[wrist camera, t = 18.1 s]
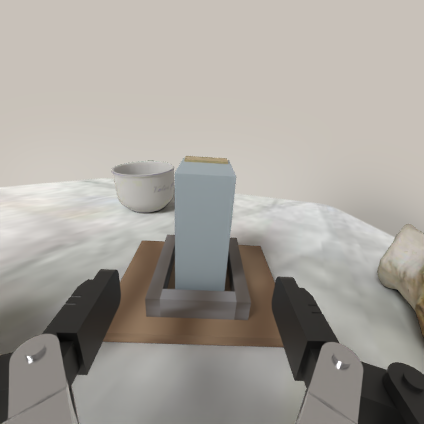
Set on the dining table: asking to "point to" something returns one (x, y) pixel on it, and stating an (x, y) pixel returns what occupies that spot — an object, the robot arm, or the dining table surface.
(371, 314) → the dining table surface
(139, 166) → the teacup
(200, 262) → the keyed plug
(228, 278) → the keyed seat
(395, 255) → the ceramic sculpture
